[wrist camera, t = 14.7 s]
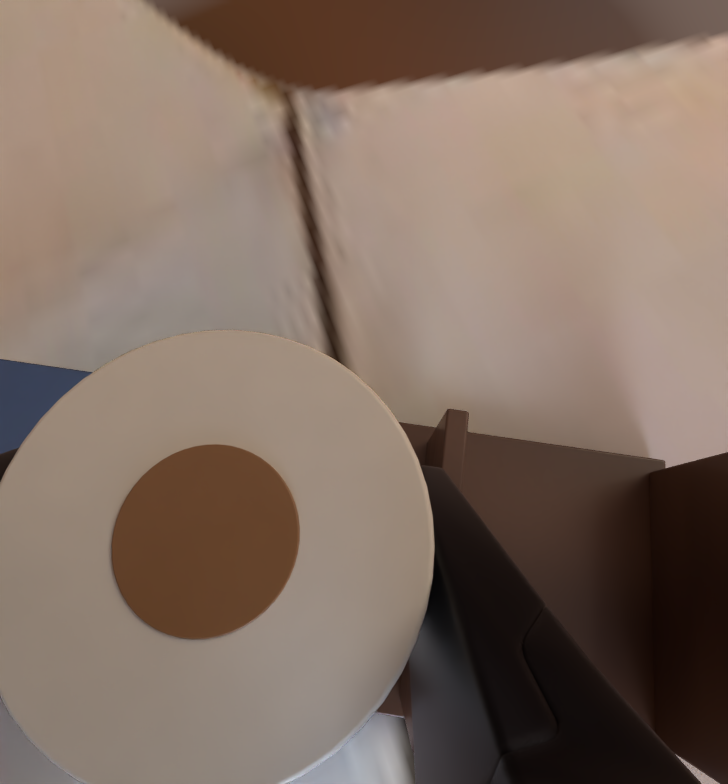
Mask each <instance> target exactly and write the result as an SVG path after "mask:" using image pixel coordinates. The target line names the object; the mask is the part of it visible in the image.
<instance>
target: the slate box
mask: <svg viewBox="0 0 728 784" xmlns="http://www.w3.org/2000/svg"><path fill="white" fill-rule="evenodd" d="M91 373H93V372H87V371H80V370H73V369H66V368H59V367H52V366H45V365H38V364H31V363H24V362H17V361H10V360H3V359H0V454H2V453H5V452H8V451H11V450H14V449H16V448H19V447H20V446H21V444H22V442H23V441H24V440H25V439H26V437H27V436H28V435H29V433H30V432H31V431H32V429H33V428H34V427H35V425H36V424H37V423H38V422H39V420H40V419H41V418H42V417H43V416H44V415H45V414H46V413H47V412H48V411H49V410H50V408H51V407H52V406H53V405H54V404H55V403H56V402H57V401H58V400H59V399H60V398H61V397H62V396H63V395H65V394H66V393H67V392H68V391H69V390H71V389H72V388H73V387H74V386H75V385H77V384H78V383H79V382H80V381H81V380H82V379H84V378H85V377H87V376H88V375H90V374H91Z"/></svg>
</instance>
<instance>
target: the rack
mask: <svg viewBox="0 0 728 784" xmlns="http://www.w3.org/2000/svg"><path fill="white" fill-rule="evenodd" d="M468 417H469V413H468V412H467V411H461V410H454V409H447V411H446V413H445V414H444V416H443V417H442V419H441V421H440V422H439V424H438V426H437V427H436V428H435V427H428V426H421V425H414V424H407V423H400V422H399V424H400V425H401V427H402V429H403V430H404V432H405V433H406V435H407V437H408V439H409V441H410V443H411V445H412V447H413V450H414V452H415V454H416V456H417V458H418V460H419V463H420V466H422V465H425V466H432V467H439V468H442V469H444V470H445V472H446V473H447V474H448V476H449V477H450V478H451V479H452V481H453V482H454V483H455V485H456V486H457V487H458V489H459V490H460V491H461V493H462V494H463V495H464V497H465V498H466V499H467V501H468V502H469V503H470V505H471V506H472V507H473V508H474V510H475V511H476V512H477V514H478V515H479V516H480V518H481V519H482V520H483V522H484V523H485V524H486V526H487V527H488V528H489V530H490V531H491V532H492V533H493V535H494V536H495V537H496V539H497V540H498V541H499V543H500V544H501V545H502V547H503V548H504V549H505V551H506V552H507V553H508V555H509V556H510V557H511V559H512V560H513V561H514V562H515V564H516V565H517V566H518V568H519V569H520V570H521V572H522V573H523V574H524V576H525V577H526V578H527V580H528V581H529V582H530V584H531V585H532V586H533V587H534V589H535V590H536V591H537V593H538V594H539V595H540V597H541V598H542V599H543V601H544V602H545V604H546V606H545V607H549V608H550V610H551V611H552V612H553V613H554V615H555V616H556V617H557V619H558V620H559V621H560V623H561V624H562V625H563V627H564V628H565V629H566V630H567V632H568V633H569V634H570V635H571V637H572V638H573V639H574V640H575V642H576V643H577V644H578V645H579V647H580V648H581V649H582V650H583V652H584V653H585V654H586V655H587V657H588V658H589V659H590V660H591V661H592V662H593V664H594V665H595V666H596V667H597V668H598V669H599V671H600V672H601V673H602V674H603V675H604V676H605V677H606V679H607V680H608V681H609V682H610V683H611V684H612V685H613V687H614V688H615V689H616V690H617V691H618V692H619V693H620V694H621V696H622V697H623V698H624V699H625V700H626V701H627V702H628V703H629V704H630V705H631V707H632V708H633V709H634V710H635V711H636V712H637V713H638V714H639V715H640V716H641V718H642V719H643V720H644V721H645V722H646V723H647V724H648V725H649V726H650V727H651V729H652V730H653V731H654V732H655V733H656V734H657V735H658V736H659V737H660V738H661V740H662V741H663V742H664V743H665V744H666V745H667V746H668V747H669V748H670V749H671V751H672V752H673V753H674V754H676V755H678V756H679V757H681V758H682V759H684V760H685V761H687V762H688V763H690V764H691V765H693V766H694V767H696V768H697V769H699V770H700V771H702V772H703V773H705V774H706V775H708V776H709V777H711V778H712V779H714V780H715V781H717V782H718V783H720V784H728V452H727V453H723V454H719V455H715V456H711V457H707V458H704V459H700V460H696V461H692V462H688V463H684V464H680V465H677V466H673V467H669V468H665V461H664V460H658V459H651V458H644V457H637V456H630V455H623V454H616V453H609V452H602V451H595V450H588V449H581V448H575V447H568V446H561V445H554V444H547V443H540V442H533V441H526V440H519V439H512V438H505V437H498V436H491V435H484V434H477V433H470V432H467V429H468ZM375 713H378V714H383V715H389V716H395V717H401V718H405V722H406V726H407V730H408V734H409V738H410V743H411V747H412V751H413V753H414V744H413V725H412V706H411V687H410V668H409V659H408V661H407V663H406V665H405V668H404V670H403V672H402V674H401V675H400V677H399V678H398V680H397V682H396V683H395V685H394V686H393V688H392V690H391V691H390V693H389V694H388V696H387V698H386V699H385V701H384V702H383V703H382V705H381V706H380V707H379V708H378V709H377V711H376V712H375Z"/></svg>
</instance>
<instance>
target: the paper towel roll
mask: <svg viewBox="0 0 728 784" xmlns="http://www.w3.org/2000/svg"><path fill="white" fill-rule="evenodd" d="M434 550H435V543H434V527H433V514H432V509H431V504H430V499H429V494H428V488H427V485H426V482H425V479H424V476H423V473H422V469H421V466H420V463H419V460H418V458H417V456H416V454H415V452H414V450H413V447H412V445H411V443H410V441H409V439H408V437H407V435H406V433H405V432H404V430H403V429H402V427H401V425H400V424H399V422H398V421H397V419H396V418H395V416H394V415H393V413H392V412H391V410H390V409H389V408H388V407H387V406H386V404H385V403H384V402H383V401H382V400H381V399H380V397H379V396H378V395H377V394H376V393H375V392H374V391H373V390H372V389H371V388H370V387H369V386H368V385H367V384H366V383H365V382H364V381H362V380H361V379H360V378H359V377H358V376H357V375H356V374H355V373H353V372H352V371H350V370H349V369H347V368H346V367H345V366H343V365H342V364H340V363H339V362H337V361H336V360H334V359H333V358H331V357H329V356H327V355H325V354H323V353H321V352H319V351H317V350H315V349H313V348H312V347H309V346H307V345H304V344H301V343H298V342H295V341H293V340H290V339H287V338H283V337H279V336H274V335H270V334H266V333H261V332H251V331H241V330H208V331H200V332H193V333H186V334H181V335H177V336H173V337H169V338H165V339H161V340H158V341H155V342H152V343H149V344H147V345H144V346H142V347H139V348H137V349H134V350H131V351H129V352H127V353H125V354H124V355H122V356H120V357H118V358H116V359H114V360H112V361H110V362H108V363H106V364H105V365H103V366H102V367H100V368H99V369H97V370H96V371H94V372H93V373H91V374H90V375H88V376H87V377H85V378H84V379H82V380H81V381H80V382H79V383H78V384H77V385H75V386H74V387H73V388H72V389H71V390H69V391H68V392H67V393H66V394H65V395H63V396H62V397H61V398H60V399H59V400H58V401H57V402H56V403H55V404H54V405H53V406H52V407H51V408H50V410H49V411H48V412H47V413H46V414H45V415H44V416H43V417H42V418H41V419H40V420H39V422H38V423H37V424H36V425H35V427H34V428H33V429H32V431H31V432H30V433H29V435H28V436H27V437H26V439H25V440H24V441H23V442H22V444H21V446H20V447H19V449H18V451H17V452H16V454H15V456H14V457H13V459H12V461H11V462H10V464H9V466H8V467H7V469H6V471H5V473H4V475H3V478H2V480H1V482H0V697H1V699H2V701H3V703H4V705H5V707H6V709H7V711H8V713H9V714H10V715H11V717H12V718H13V719H14V721H15V722H16V724H17V725H18V726H19V728H20V729H21V730H22V732H23V733H24V735H25V736H26V737H27V739H28V740H29V741H30V742H31V743H32V744H33V745H34V746H35V747H36V748H37V749H38V750H39V751H40V752H41V753H42V754H44V755H45V756H46V757H47V758H48V759H49V760H50V761H51V762H52V763H53V764H55V765H56V766H58V767H59V768H60V769H62V770H63V771H65V772H66V773H67V774H69V775H70V776H72V777H73V778H74V779H76V780H77V781H79V782H81V783H83V784H287V783H289V782H291V781H293V780H295V779H297V778H299V777H301V776H303V775H305V774H307V773H308V772H310V771H311V770H312V769H314V768H315V767H317V766H318V765H319V764H321V763H322V762H324V761H325V760H326V759H328V758H329V757H331V756H332V755H334V754H335V753H336V752H337V751H338V750H339V749H340V748H342V747H343V746H344V745H345V744H346V743H347V742H348V741H349V740H350V739H351V738H352V737H353V736H354V735H355V734H357V733H358V732H359V731H360V730H361V729H362V728H363V726H364V725H365V724H366V723H367V722H368V720H369V719H370V718H371V717H372V716H373V714H374V713H375V712H376V711H377V709H378V708H379V707H380V706H381V705H382V703H383V702H384V701H385V699H386V698H387V696H388V694H389V693H390V691H391V690H392V688H393V686H394V685H395V683H396V682H397V680H398V678H399V677H400V675H401V674H402V672H403V670H404V668H405V665H406V663H407V661H408V659H409V657H410V655H411V653H412V650H413V648H414V646H415V644H416V642H417V639H418V636H419V633H420V629H421V626H422V623H423V620H424V617H425V614H426V611H427V606H428V601H429V595H430V590H431V585H432V580H433V567H434Z"/></svg>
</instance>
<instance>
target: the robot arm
mask: <svg viewBox="0 0 728 784" xmlns="http://www.w3.org/2000/svg"><path fill="white" fill-rule="evenodd" d="M18 449H19V448H16V449H14V450H11V451H8V452H5V453H2V454H0V482H1V480H2V478H3V475H4V473H5V471H6V469H7V467H8V466H9V464H10V462H11V461H12V459H13V457H14V456H15V454H16V452H17V451H18ZM421 469H422V473H423V476H424V479H425V482H426V485H427V488H428V494H429V499H430V504H431V509H432V514H433V527H434V543H435V550H434V567H433V580H432V585H431V590H430V595H429V601H428V606H427V611H426V614H425V617H424V620H423V623H422V626H421V629H420V633H419V636H418V639H417V642H416V644H415V646H414V648H413V650H412V653H411V655H410V657H409V668H410V687H411V706H412V725H413V744H414V763H415V782H416V784H701V782H700V781H699V780H698V779H697V778H696V777H695V776H694V775H693V774H692V773H691V771H690V770H689V769H688V768H687V767H686V766H685V765H684V764H683V763H682V762H681V760H680V759H679V758H678V757H677V756H676V755H675V754H674V753H673V752H672V751H671V749H670V748H669V747H668V746H667V745H666V744H665V743H664V742H663V741H662V740H661V738H660V737H659V736H658V735H657V734H656V733H655V732H654V731H653V730H652V729H651V727H650V726H649V725H648V724H647V723H646V722H645V721H644V720H643V719H642V718H641V716H640V715H639V714H638V713H637V712H636V711H635V710H634V709H633V708H632V707H631V705H630V704H629V703H628V702H627V701H626V700H625V699H624V698H623V697H622V696H621V694H620V693H619V692H618V691H617V690H616V689H615V688H614V687H613V685H612V684H611V683H610V682H609V681H608V680H607V679H606V677H605V676H604V675H603V674H602V673H601V672H600V671H599V669H598V668H597V667H596V666H595V665H594V664H593V662H592V661H591V660H590V659H589V658H588V657H587V655H586V654H585V653H584V652H583V650H582V649H581V648H580V647H579V645H578V644H577V643H576V642H575V640H574V639H573V638H572V637H571V635H570V634H569V633H568V632H567V630H566V629H565V628H564V627H563V625H562V624H561V623H560V621H559V620H558V619H557V617H556V616H555V615H554V613H553V612H552V611H551V610H550V608H549V607H545V606H546V604H545V602H544V601H543V599H542V598H541V597H540V595H539V594H538V593H537V591H536V590H535V589H534V587H533V586H532V585H531V584H530V582H529V581H528V580H527V578H526V577H525V576H524V574H523V573H522V572H521V570H520V569H519V568H518V566H517V565H516V564H515V562H514V561H513V560H512V559H511V557H510V556H509V555H508V553H507V552H506V551H505V549H504V548H503V547H502V545H501V544H500V543H499V541H498V540H497V539H496V537H495V536H494V535H493V533H492V532H491V531H490V530H489V528H488V527H487V526H486V524H485V523H484V522H483V520H482V519H481V518H480V516H479V515H478V514H477V512H476V511H475V510H474V508H473V507H472V506H471V505H470V503H469V502H468V501H467V499H466V498H465V497H464V495H463V494H462V493H461V491H460V490H459V489H458V487H457V486H456V485H455V483H454V482H453V481H452V479H451V478H450V477H449V476H448V474H447V473H446V472H445V470H444V469H442V468H439V467H432V466H425V465H422V466H421Z"/></svg>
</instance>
